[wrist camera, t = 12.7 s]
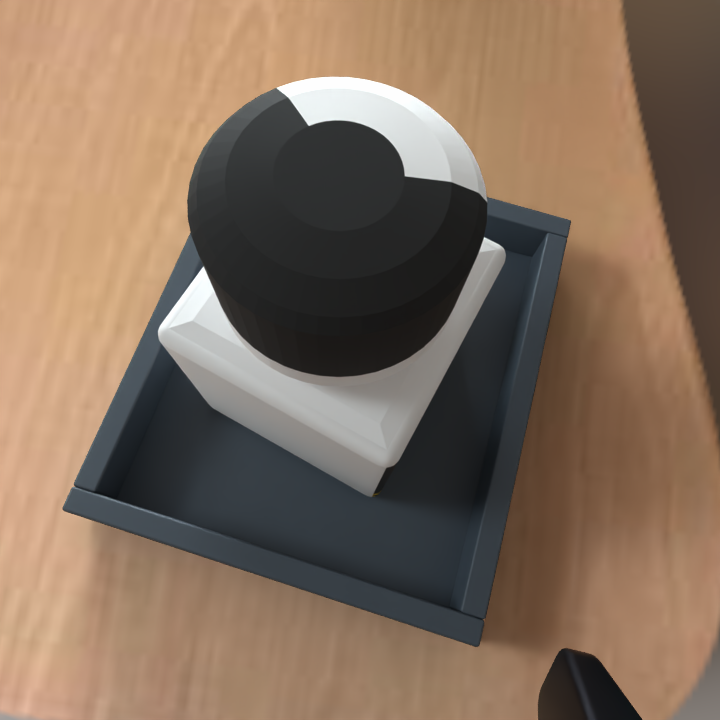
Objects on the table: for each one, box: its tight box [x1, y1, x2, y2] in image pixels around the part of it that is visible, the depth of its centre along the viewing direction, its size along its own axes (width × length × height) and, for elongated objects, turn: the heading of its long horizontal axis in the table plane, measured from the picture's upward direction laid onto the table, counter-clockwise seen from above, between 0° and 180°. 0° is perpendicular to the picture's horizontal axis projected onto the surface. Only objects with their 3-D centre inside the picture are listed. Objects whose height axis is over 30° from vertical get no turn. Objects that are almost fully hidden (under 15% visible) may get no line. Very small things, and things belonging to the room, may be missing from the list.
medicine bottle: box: [158, 77, 506, 497], centre depth 17 cm, size 7×7×12 cm
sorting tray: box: [63, 197, 571, 647], centre depth 22 cm, size 16×14×2 cm
